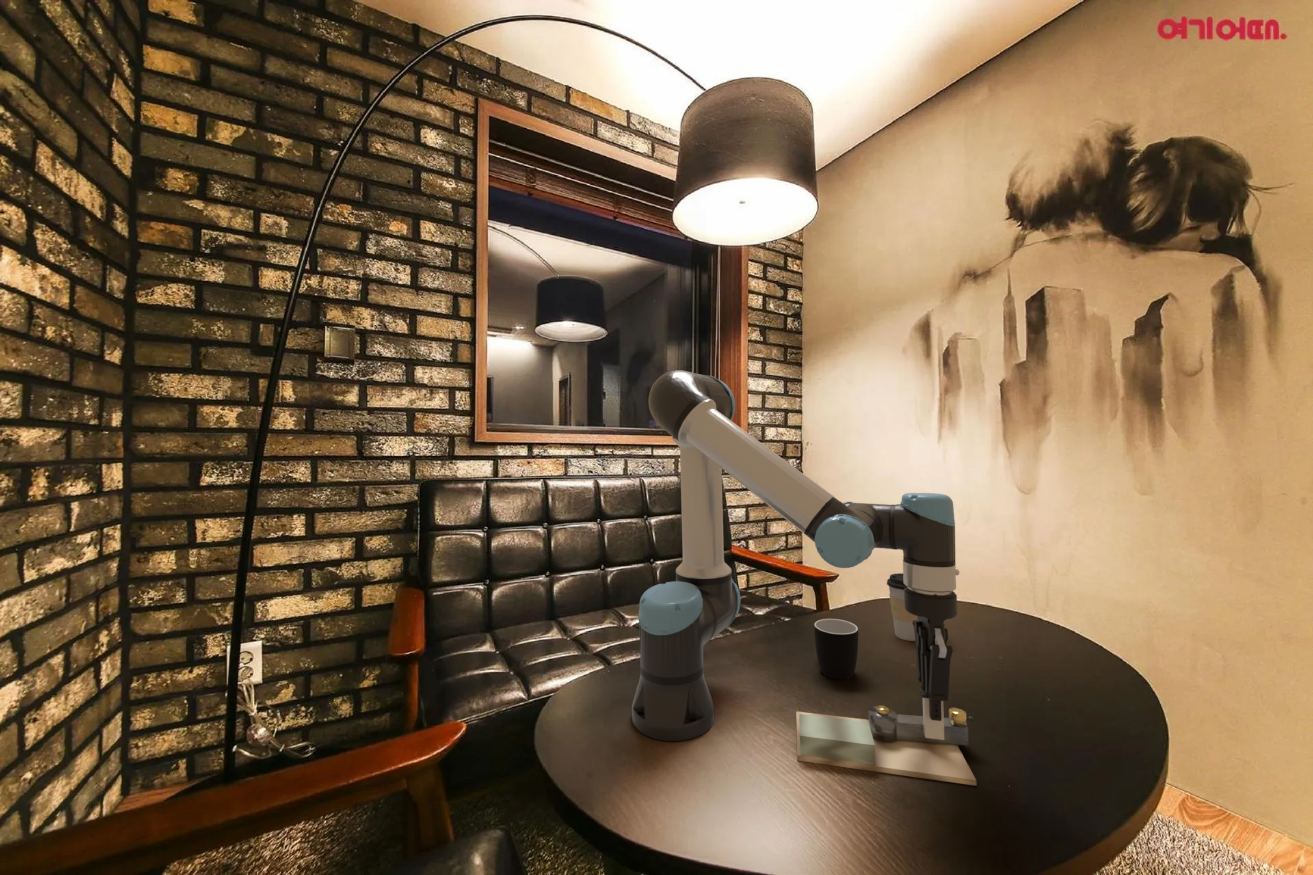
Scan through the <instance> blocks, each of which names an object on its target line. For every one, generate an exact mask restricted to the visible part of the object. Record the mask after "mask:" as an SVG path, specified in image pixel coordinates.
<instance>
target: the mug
mask: <svg viewBox="0 0 1313 875" xmlns="http://www.w3.org/2000/svg"><path fill="white" fill-rule="evenodd" d="M813 630H814V631H813V633H814V644H815V651H816V656H817V657H816V658H817V661H818V666H819V668H820V671H821V673H822V674H823V675H824V676H825V677H828V678H831V679H834V680H848V679H851V678H852V677H853V675H854V674H855V671H856V667H857V661H858V652H859V628H858V626H857V625H856V624H854V623H852V622H850V621H848V620H843V619H838V618H823V619H822V618H821V619H819V620H817V621H815V622H814V626H813Z"/></svg>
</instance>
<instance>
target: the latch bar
mask: <svg viewBox="0 0 1313 875" xmlns="http://www.w3.org/2000/svg"><path fill="white" fill-rule="evenodd" d="M867 712H868V720H869V726H870V729H871V733H872V737H874V738H875V739H877V740H880V741H883V742H894V741H896V740H907V741H919V742H931V743H944V744H956V745H957V746H969V745H970V744H969V727H968V726H967V712H966V711H965V710H963V709H961V708H958V707H950V708H948V717H944V740H940V739H932V738H925V736H924V731H923V715H913V714H911V715H910V714H900V713H899V714H897V712H896V711H895V710H893V709H891V708H890V707H887V706H885V705H876V706H875V705H874V706H870V707H869V708H868V711H867Z"/></svg>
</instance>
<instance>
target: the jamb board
mask: <svg viewBox="0 0 1313 875" xmlns="http://www.w3.org/2000/svg"><path fill="white" fill-rule="evenodd" d="M795 714H796V717H795V718H796V752H797V753H796V754H797V755H796V757H797V761H800V762H804V763H805V762H807V763H814V764H821V765H828V766H836V767H842V768H849V769H855V770H863V771H869V772H877V773H884V774H891V775H898V776H903V777H904V776H905V777H912V778H919V779H925V780H926V779H927V780H932V781H933V780H935V781H940V782H949V783H955V784H962V785H968V786H977V779H976V777H975V775H974V774H973V772H972V770H971V767H970V766H969V764H968V763H967V762H968V761H966V759H965V757H964V755H963V753H962V751H961V750H960V748H959V745H956V744H944V743H931V742H919V741H907V740H896V741H894V742H883V741H880V740H877V739H875V738H874V737H872V733H871V729H870V726H869V719H865V718H856V717H847V716H838V715H831V714H822V713H814V712H813V713H812V712H806V711H805V712H803V711H796V713H795Z"/></svg>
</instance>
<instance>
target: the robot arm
mask: <svg viewBox="0 0 1313 875" xmlns="http://www.w3.org/2000/svg"><path fill="white" fill-rule="evenodd" d="M648 408H649V411H650V412H649V413H650V414H651V416H652V417H653V420H654V421H655V422H656V423H657V425H659V426H660V427H661V429H663V430H664V431H666V433H668V434H669V435H670V436H672V441H673V442H674V443H675V444H676V445H677V446H678V448H679V453H680V454H679V461H680V462H679V465H680V495H681V496H680V497H681V498H680V500H681V502H680V504H681V534H682V535H681V540H682V543H681V544H682V561H681V562H680V564H679V565H678V566H677V567H676V569H675V581H666V582H665V583H659V584H656V585H653V586H650V587H649V588H648V589H646V590H645V591H644V592H643V594H642V595H641V596H640V600H639V607H638V608H639V610H638V617H637V618H638V619H637V620H638V624H639V627H638V628H639V661H640V663H639V665H640V677H639V680H638V684H637V686H636V690H635V694H634V696H633V697H634V698H633V699H632V705H631V720H632V721H631V722H632V724H633V726H634V728H635V729H636V730H637V731H639V732H640V733H641V734H642V735H645V736H646V737H648V738H652V739H655V740H659V741H664V742H666V741H667V742H681V741H689V740H692V739H694V738H697V737H699V736H702V735H703V734H705V733H707V732H708V731H709V730H710V728H712V726H713V724H714V721H715V706H714V702H713V698H712V695H711V693H710V691H709V690H710V689H709V688H708V684H707V681H706V678H705V674H704V646H705V645H706V644H707V643H708V642H710V641H711V640H712V639H714V638H715V637H716V636H718V634H719V633H721V632H723V631H725V630H727V628H728V627H729V626H731V624H732V623H733V621H734V620H735V619H736V617H737V616H738V613H739V611H740V607H741V595H740V594H741V593H740V588H739V587H738V585H737V583H735V582H734V579H733V578H732V577H733V573H732V572H733V571H732V568H731V567H730V566H729V565H728V564H727V563H726V562H725V552H724V548H725V547H724V512H723V508H724V507H723V482H722V481H723V480H722V479H723V478H722V476H723V475H722V470H723V471H725V472H726V473H727V474H728V475H730V476H731V478H733V479H734V480H736V481H737V482H738V483H740V484H741V485H742V486H743V487H744V488H746V489H747V490H748V491H750V492H751V493H752V494H754V495H755V496H756V497H757V498H759V499H760V500H761V501H762V502H763V503H764V504H766V505H767V506H768V507H770V508H771V509H772V510H773V511H775V512H776V513H777V514H779V515H780V516H781V517H782V518H783V519H785V520H786V521H788V522H789V523H790V524H791V525H793V526H794V527H795V528H796V529H797V530H799V531H800V532H801V533H803V534H804V535H805V536H807V537H808V538H809V539H810V540H811V541H813V542H814V545H815V548H816V550H817V553H818V554H819V556H820V558H821V559H822V560H823V561H824V562H826V563H827V564H829V565H831V566H832V567H835V568H840V569H849V568H850V569H851V568H854V567H856V566H858V565H860V564H861V563H863V562H864V561H866V560H868V558H869V557H870V556H871V555H872V552H873V550H874V549H885V550H886V549H887V550H902V553H903V556H902V557H903V559H902V571H903V572H902V573H903V581H904V584H905V585H906V586H907V587H906V588H905V589H904V607H905V609H906V611H907V612H909V613H911V614H913V615H915V616H917V619H918V620H913V622H912V624H913V627H914V633H915V641H914V642H915V652H916V653H915V654H916V665H917V666H916V668H917V680H918V682H919V683H920V688H921V691H920V693H919V694H920V697H921V698H922V716H923V731H924V736H925V738H932V739H940V740H944V718H945V716H944V714H945V713H944V702H948V701H949V690H950V689H949V688H950V687H949V686H950V674H951V673H950V671H951V669H950V668H951V659H952V655H953V653H954V652H953V648H952V646H951V645H947V641H948V640H949V631H948V629H947V627H946V628H945V624H944V623H945V621H947V620H952V619H954V618H956V617H957V615H958V595H957V594H956V592H954V591H955V590H956V589H957V577H956V576H959V575H960V570H959V569H958V568H956V522H955V510H954V502H953V498H951V496H948V495H947V494H943V493H933V492H932V493H931V492H930V493H929V492H907V493H904V494H902V497H901V501H900V503H899V504H898V503H897V504H884V503H883V504H882V503H866V502H865V503H864V502H853V501H845V502H842V501H840V500H839V499H838V498H836V497H835V496H834V495H832V493H830V492H829V491H827V490H826V489H825V488H823V487H822V486H820V485H819V484H817V483H816V482H814V480H812V479H811V478H810V477H809V476H807V475H805V474H804V473H803V472H802V471H800V470H799V469H798V468H796V467H795V466H793V465H792V464H791V463H789V462H788V461H786V460H785V459H784V458H782V457H781V456H780V455H778V454H777V453H775V452H774V450H772V449H770V448H769V447H768V446H766V445H764V443H762V442H761V441H759V440H758V439H756V437H754V436H752V435H751V434H750V433H749V432H747V431H746V430H745V429H743V428H742V427H740V426H739V425H738V424H736V423H735V422H733V418H734V417H735V416H734V415H735V413H736V400H735V397H734V394H733V392H732V390H731V389H730V387H729V386H728V385H727V383H725V382H723V381H722V380H720V379H718V378H717V377H714V376H712V375H707V374H699V373H696V372H692V371H687V370H683V369H682V370H681V369H677V370H671V371H668V372H665V373H664V374H662V375H660V376H659V377H658V378H657V379H656V380H655V381H654V383H653V384H652V386H651V388H650V391H649V395H648Z"/></svg>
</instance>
